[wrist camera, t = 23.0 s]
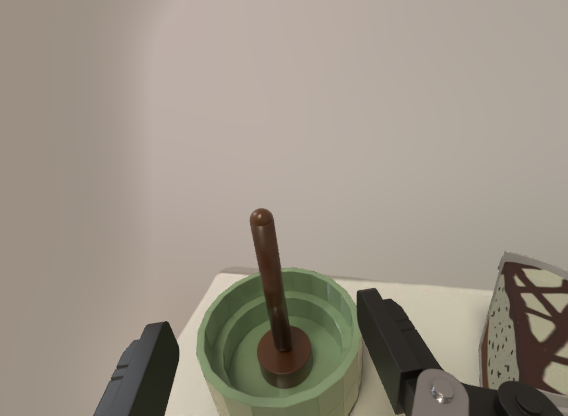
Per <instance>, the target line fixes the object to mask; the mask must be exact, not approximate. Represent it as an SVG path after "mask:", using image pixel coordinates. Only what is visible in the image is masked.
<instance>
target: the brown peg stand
mask: <svg viewBox="0 0 568 416" xmlns="http://www.w3.org/2000/svg"><path fill="white" fill-rule="evenodd" d="M250 225H251V230H252V235H253V240H254V246H255V251H256V255H257V261H258V265H259V271H260V276H261V281H262V286H263V292H264V297H265V302H266V307H267V312H268V317H269V322H270V327H271V329H270V330H269V331H267V332H266V333H265V334H264V335H263V337H262V338H261V339H260V341H259V344H258V347H257V357H258V362H259V366H260V370H261V373H262V376H263V377H264V379H265V380H266V381H267V382H268V383H269V384H270V385H272V386H274V387H276V388H280V389H289V388H293V387H296V386H298V385H300V384H301V383H302V382H303V381H305V379H306V378H307V377H308V376H309V374H310V372H311V369H312V365H313V359H312V350H311V343H310V340H309V337H308V336H307V334H306V333H305V332H304V331H303V330H301V329H300V328H298V327H295V326H292V325H290V324H289V318H288V311H287V304H286V298H285V291H284V285H283V278H282V271H281V265H280V258H279V252H278V245H277V238H276V232H275V226H274V219H273V215H272V213H271V212H270V211H268V210H267V209H264V208H260V209H257V210H255V211H254V212H253V213H252V214H251V216H250Z"/></svg>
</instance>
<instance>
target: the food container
mask: <svg viewBox="0 0 568 416" xmlns="http://www.w3.org/2000/svg"><path fill="white" fill-rule="evenodd" d="M498 269H499V273H498V277H497V281H496V285H495V288H494V292H493V296H492V300H491V304H490V307H489V311H488V315H487V319H486V323H485V326H484V330H483V334H482V338H481V342H480V345H479V372H480V387H483V388H489V389H496V390H498V388H499V386H500V385H501V384H502V383H503V382H505V381H519V382H523V383H526V384H528V385H530V386H532V387H534V388H536V389H537V390H539V391H540V392H542V393H543V394H544V395H545V396H547V397H548V398H549V399H550V400H551V401H552V402H553V404H554V405H555V406H556V407H557V408H558V409H559V410H560V412H561V413H562V414H563V415H564V416H568V270H565V269H563V268H560V267H558V266H555V265H553V264H550V263H547V262H544V261H541V260H538V259H535V258H532V257H528V256H524V255H521V254H517V253H512V252H507V251H505V252H504V255H503V256H502V258H501V261H500V264H499V266H498Z"/></svg>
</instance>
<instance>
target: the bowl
mask: <svg viewBox="0 0 568 416" xmlns="http://www.w3.org/2000/svg"><path fill="white" fill-rule="evenodd" d="M281 271H282V278H283V285H284V291H285V298H286V304H287V311H288V318H289V324H290V325H292V326H295V327H298V328H300V329H301V330H303V331H304V332H305V333H306V334H307V336H308V337H309V340H310V343H311V350H312V359H313V365H312V369H311V372H310V374H309V376H308V377H307V378H306V379H305V381H303V382H302V383H301V384H300V385H298V386H296V387H293V388H289V389H280V388H276V387H274V386H272V385H270V384H269V383H268V382H267V381H266V380H265V379H264V377H263V376H262V373H261V370H260V366H259V362H258V357H257V347H258V344H259V341H260V339H261V338H262V337H263V335H264V334H265V333H266V332H267V331H269V330H270V329H271V327H270V322H269V317H268V312H267V307H266V302H265V297H264V292H263V286H262V281H261V276H260V272H258V273H255V274H252V275H250V276H248V277H246V278H244V279H242V280H240V281H238V282H236V283H234V284H233V285H232V286H230V287H229V288H228V289H226V290H225V291H224V292H223V293H221V294H220V295H219V296H218V297H217V299H216V300H215V301H214V302H213V304H212V305H211V306H210V307H209V309H208V310H207V311H206V313H205V315H204V318H203V320H202V323H201V325H200V327H199V330H198V334H197V352H196V354H197V358H198V360H199V363H200V366H201V369H202V372H203V375H204V377H205V380H206V382H207V385H208V387H209V390H210V392H211V395H212V398H213V400H214V403H215V405H216V408H217V410H218V413H219V415H220V416H348V414H349V412H350V411H351V409H352V407H353V405H354V403H355V401H356V399H357V397H358V392H359V386H360V379H361V370H362V334H361V332H360V329H359V326H358V322H357V306H356V305H355V303H354V302H353V300H352V298H351V297H350V295H349V294H348V292H347V291H346V290H345V289H344V288H342V287H341V286H340V285H339V284H337V283H336V282H335V281H334V280H332V279H331V278H329V277H326V276H324V275H322V274H319V273H317V272H314V271H311V270H305V269H299V268H281Z"/></svg>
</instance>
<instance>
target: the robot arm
mask: <svg viewBox="0 0 568 416" xmlns="http://www.w3.org/2000/svg"><path fill="white" fill-rule="evenodd" d="M357 322H358V326H359V329H360V332H361V334H362V337H363V339H364V341H365V344H366V346H367V348H368V351H369V353H370V356H371V358H372V360H373V363H374V365H375V367H376V370H377V372H378V374H379V377H380V379H381V381H382V384H383V386H384V389H385V391H386V393H387V396H388V398H389V400H390V403H391V405H392V407H393V410H394V412H395V414H396V415H397V414H403V413H405V415H406V416H564V415H563V414H562V413H561V412H560V410H559V409H558V408H557V407H556V406H555V405H554V404H553V402H552V401H551V400H550V399H549V398H548V397H547V396H545V395H544V394H543V393H542V392H540V391H539V390H537V389H536V388H534V387H532V386H530V385H528V384H526V383H523V382H519V381H505V382H503V383H502V384H501V385H500V386H499V388H498V390H496V389H489V388H483V387H477V386H471V385H467V384H464V383H462V382H459V381H458V380H457V379H456V378H455V377H454V376H452V375H451V374H449V373H447V372H445V371H444V370H443V369H442V368H441V367H440V365H439V364H438V362H437V361H436V359H435V358H434V356H433V355H432V353H431V351H430V350H429V348H428V347H427V345H426V344H425V342H424V341H423V339H422V338H421V336H420V335H419V333H418V332H417V330H415V327H414V325H413V324H412V322H411V321H410V320H409V318H408V316H407V315H406V313H405V312H404V310H403V309H402V307H401V306H400V305H398V304H397V303H396V302H394V301H393V300H392V299H385V300H383V299H382V297H381V296H380V294H379V292H378V291H377V289H376V288H371V289H365V290H358V291H357ZM178 362H179V346H178V343H177V341H176V338H175V336H174V334H173V332H172V329H171V327H170V324H169V323H168V322H167V321H165V322H159V323H153V324H148V325H146V327H145V328H144V331H143V333H142V335H141V338H140V339H139V340H134V341H133V342H132V343H131V344H130V346H129V347H128V348H127V349H126V350H125V351H124V353H123V354H122V356H121V358H120V360H119V363H118V365H117V369H115V371H114V373H113V375H112V377H111V381H110V382H109V383H108V386H107V388H106V390H105V392H104V394H103V396H102V398H101V400H100V402H99V404H98V407H97V409H96V411H95V413H94V415H93V416H164V415H165V411H166V407H167V404H168V400H169V396H170V392H171V389H172V385H173V381H174V377H175V373H176V370H177V366H178Z"/></svg>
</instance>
